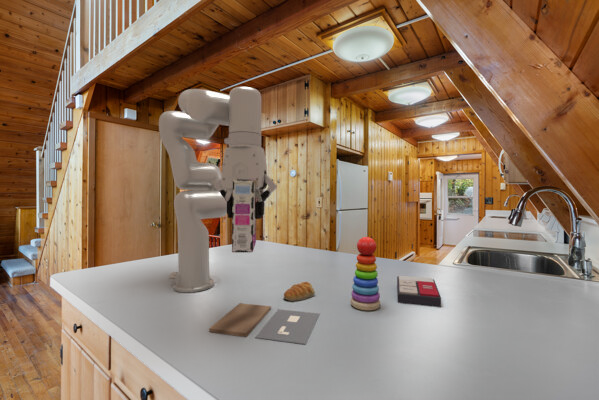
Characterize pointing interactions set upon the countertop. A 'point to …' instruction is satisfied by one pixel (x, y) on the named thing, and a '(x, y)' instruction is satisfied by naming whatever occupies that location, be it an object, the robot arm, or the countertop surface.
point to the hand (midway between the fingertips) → (245, 217)
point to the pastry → (299, 292)
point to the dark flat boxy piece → (418, 291)
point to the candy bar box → (243, 216)
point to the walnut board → (240, 320)
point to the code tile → (289, 326)
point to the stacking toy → (365, 277)
